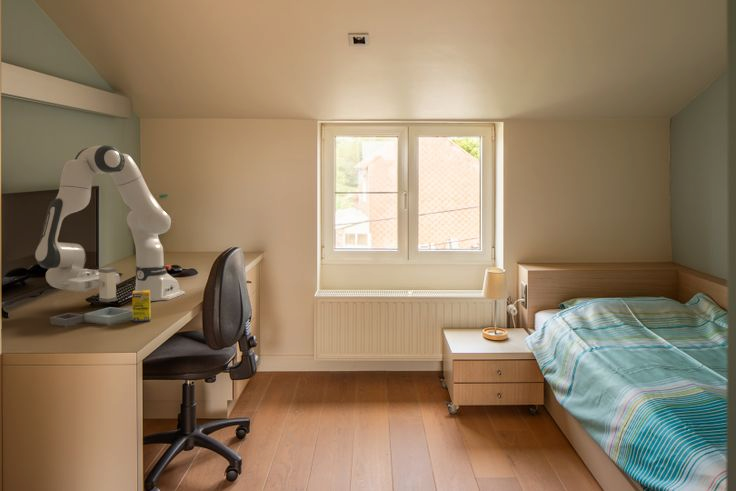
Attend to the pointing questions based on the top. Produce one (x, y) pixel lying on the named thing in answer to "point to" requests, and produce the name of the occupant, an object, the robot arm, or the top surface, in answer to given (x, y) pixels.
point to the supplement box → (141, 306)
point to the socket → (67, 319)
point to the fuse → (107, 284)
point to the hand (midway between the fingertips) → (109, 283)
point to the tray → (108, 316)
